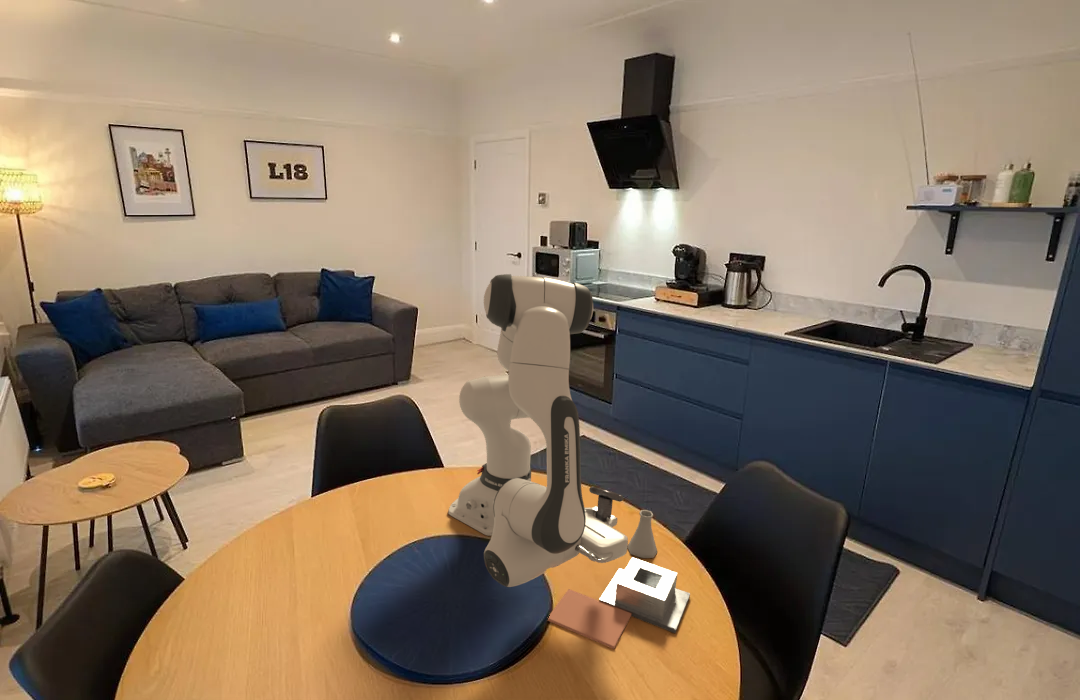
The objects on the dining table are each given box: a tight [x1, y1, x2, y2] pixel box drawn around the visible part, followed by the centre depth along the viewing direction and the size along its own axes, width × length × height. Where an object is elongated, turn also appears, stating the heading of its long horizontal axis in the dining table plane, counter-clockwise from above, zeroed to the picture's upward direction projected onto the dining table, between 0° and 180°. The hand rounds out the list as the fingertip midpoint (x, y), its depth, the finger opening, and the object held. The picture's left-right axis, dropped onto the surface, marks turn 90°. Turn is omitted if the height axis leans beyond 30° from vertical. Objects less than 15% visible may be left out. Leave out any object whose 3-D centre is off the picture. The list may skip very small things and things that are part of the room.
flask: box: [627, 509, 658, 559], centre depth 131 cm, size 7×7×10 cm
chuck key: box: [588, 486, 624, 522], centre depth 115 cm, size 7×3×14 cm, turn 62°
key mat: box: [547, 588, 632, 650], centre depth 109 cm, size 14×10×1 cm
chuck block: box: [598, 556, 691, 634], centre depth 115 cm, size 16×12×6 cm
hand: (606, 514), depth 115 cm, fingers closed on chuck key, 3 cm apart
